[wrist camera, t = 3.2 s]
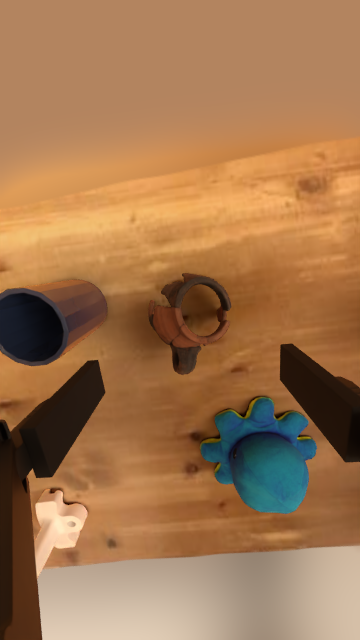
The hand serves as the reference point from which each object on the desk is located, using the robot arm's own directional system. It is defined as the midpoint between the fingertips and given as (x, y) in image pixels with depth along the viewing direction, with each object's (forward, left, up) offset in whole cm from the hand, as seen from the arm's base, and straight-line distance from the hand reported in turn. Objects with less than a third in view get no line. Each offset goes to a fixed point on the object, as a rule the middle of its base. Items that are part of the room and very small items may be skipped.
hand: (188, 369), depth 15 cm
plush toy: (+9, -22, -14) cm, 27 cm away
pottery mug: (0, 0, -14) cm, 14 cm away
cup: (-14, +3, -14) cm, 20 cm away
